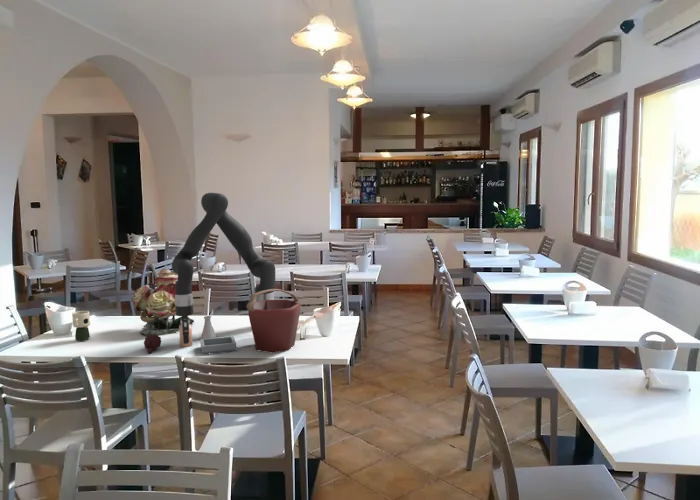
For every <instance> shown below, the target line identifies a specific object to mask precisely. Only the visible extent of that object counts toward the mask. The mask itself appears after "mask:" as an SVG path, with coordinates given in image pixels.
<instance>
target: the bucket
mask: <svg viewBox="0 0 700 500" xmlns="http://www.w3.org/2000/svg"><path fill="white" fill-rule="evenodd" d="M271 291H274V292H282V293H285V294H287V295H289V296H291V297H292V298H293V300H291V299H287V298H286V299H274V300H262V301H257V302H256V298H257V296H259V295H261V294H264V293H267V292H271ZM299 300H300V299H299V298H298V297H297V296H296V295H295V294H294V293H291V292H289V291H287V290H283V289H279V288H274V289H268V290H263V291H260V292H257V293H255V292H254V293H252V294H251V295H250V300H249V302H248V303H247V305H246V306H245V307H246V308H247V311H248V320H249V323H250V327H251V331H252V337H253V341H254V345H255V350H256V351H258V352H264V353H270V352H272V353H279V351H280V352H286V351H285V350H287V351H289V350H290V349H292V348H293V347H295V345H296V339H297V338H296V337H297V333H298V326H299V319H300V315H301V303H300V302H299ZM291 347H292V348H291Z"/></svg>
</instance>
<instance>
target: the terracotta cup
mask: <svg viewBox="0 0 700 500" xmlns="http://www.w3.org/2000/svg"><path fill="white" fill-rule="evenodd" d="M189 326H190V329H189V343H188V344H184V341H183V330H181V325H179V328H178V329H179V332H178V334H179V346H180V347H181V348H187V347H192V346H193V331H192V330H193V329H192V324H191V323H189ZM184 332H187V330H184Z"/></svg>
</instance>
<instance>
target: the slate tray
mask: <svg viewBox="0 0 700 500" xmlns="http://www.w3.org/2000/svg"><path fill="white" fill-rule="evenodd" d="M200 350H201V355H202V354H206V355H210V354H209V353H216V354H221V353H220V352H226V353H233V352H232V351H236V352H237V342H236V339H235V337H234V335H232V336H230V335H229V336H222V337H220V336H219V337H216V338H207V339H200Z"/></svg>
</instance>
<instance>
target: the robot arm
mask: <svg viewBox="0 0 700 500" xmlns="http://www.w3.org/2000/svg"><path fill="white" fill-rule="evenodd" d="M200 203H201V208H203V211H204V212H205V213H206V214H205V215H204V217H203V218H202V220H201V221H200V222H199V223H198V225H197V226H195V227H194V229H193V230H192V231H191V233H189V235H188V237H187V239H186V241H185V242H184V245H183V246H182V248H181V249H180V250H179V252H178V253H177V254H176V255H175V257H174V259H173V260H172V262H171V269H172V270H171V271H173V272H175V273H177V274H178V281H176V282H175V310H176V314H175V315H176V316H177V317H182V318H180V323H181V330H183V341H184V344H188V343H189V329H190V326H189V324H191V322H190V319H191V317H189V316H191V315H194V297H193V289H192V288H193V287H192V286H193V285H192V282H193V276H194V265H193V263H192V259H193V258H194V257H197V256H198V255H199V253H200V251H201V249H202V247H203V245H204V243H205V242H206V239H207V238H208V236H209V235H210V233H211V231H212V230H213V228H214V227H215V226H216V224H217V227H219V229H220V230H221V232H222V233H223V234H224V235H225V237H226V238H227V240H228V241H229V243H230V244H231V246H232V247H233V248H234V249H235V250H236V251H237V253H238V255H239V256H240V257H241V259H243V261H244V263H245V265H246V266H247V268H248V270H249V272H250V273H251V274H252V276H253V277H256V278H258V279H259V284H258V285H256V286H255V287H254V293H257V292H260V291H263V290H268V289H275V286H276V266H275V263H274V262H273V261H272V260H270V259H262V258H261V257H260V256H259V255H258V254H257V253H256V251H255V249H254V246H253V240H252V237H251V235H250V234H249V233H248V231H247V230H246V228H245V227H244V225H242V224H241V223H240V222H239V221H238V220H236V219H235V218H234V217H232V216H231V215H230V214H229V212H228V211H227V209H228V206H229V199H228V198H227V196H226V195H224V194H223V193H218V192H208V193H206V192H205V194H203V195H202V197H201V200H200ZM262 300H275V291H271V292H267V293H264V294H261V295H259V296H257V298H256V302H257V301H262ZM188 317H189V318H188ZM184 330H187V332H184Z"/></svg>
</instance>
